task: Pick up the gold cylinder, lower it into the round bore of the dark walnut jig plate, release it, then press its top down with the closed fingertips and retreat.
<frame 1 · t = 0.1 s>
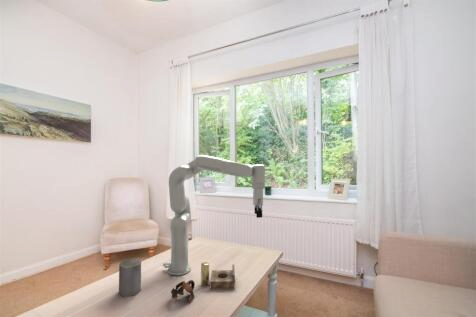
hand: (258, 215, 136), 31 cm above the table, fingers open, 9 cm apart
gold cylinder: (205, 283, 119), on the table
jig: (222, 282, 121), on the table
pillar candle: (130, 291, 112), on the table
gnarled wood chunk: (184, 298, 107), on the table
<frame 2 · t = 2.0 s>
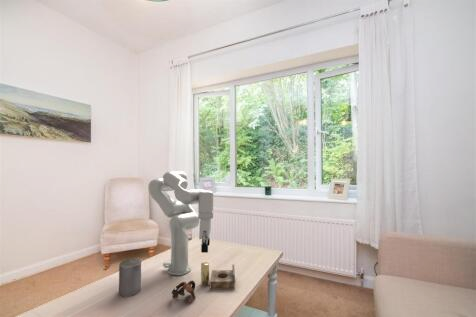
hand: (205, 248, 119), 18 cm above the table, fingers open, 9 cm apart
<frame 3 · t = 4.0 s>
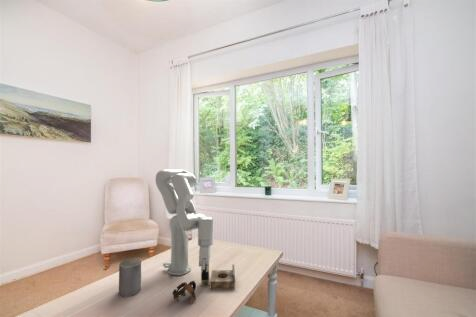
hand: (205, 277, 119), 3 cm above the table, fingers closed on gold cylinder, 4 cm apart
gold cylinder: (205, 283, 119), on the table, touching gripper
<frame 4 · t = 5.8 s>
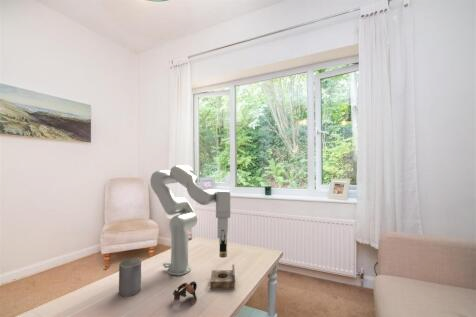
hand: (223, 249, 121), 17 cm above the table, fingers closed on gold cylinder, 4 cm apart
gold cylinder: (223, 256, 121), point 14 cm above the table, touching gripper
when the fingers open (4 cm above the table, at t = 7.8 s): gold cylinder stays where it is, resting in jig.
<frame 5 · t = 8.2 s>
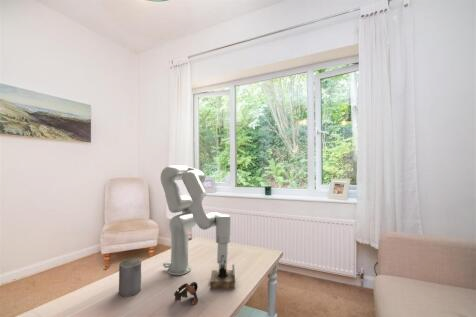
hand: (222, 272, 121), 5 cm above the table, fingers open, 8 cm apart
gold cylinder: (222, 282, 121), resting in jig
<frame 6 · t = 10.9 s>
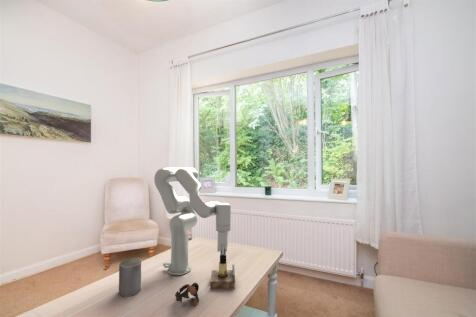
hand: (223, 262, 121), 10 cm above the table, fingers closed
gold cylinder: (222, 282, 121), resting in jig, touching gripper
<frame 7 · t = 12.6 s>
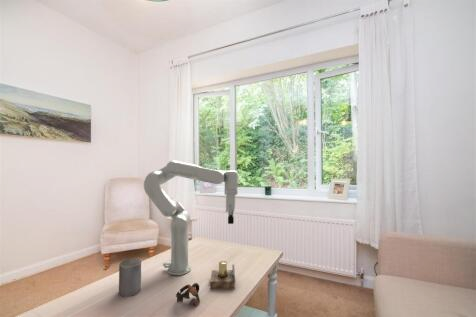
hand: (230, 223, 136), 26 cm above the table, fingers closed
gold cylinder: (222, 282, 121), resting in jig
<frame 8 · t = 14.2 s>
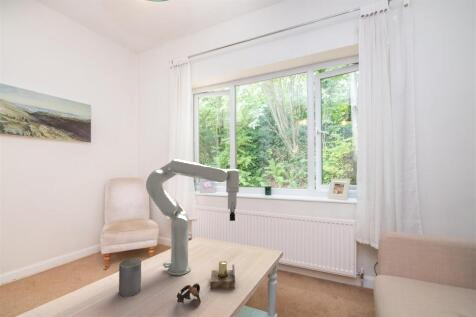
hand: (232, 220, 140), 27 cm above the table, fingers closed
at the end: gold cylinder 0.0 cm off-centre in the jig, point 0.0 cm above the jig's base; gold cylinder tilted 0°; the gripper is holding nothing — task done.
